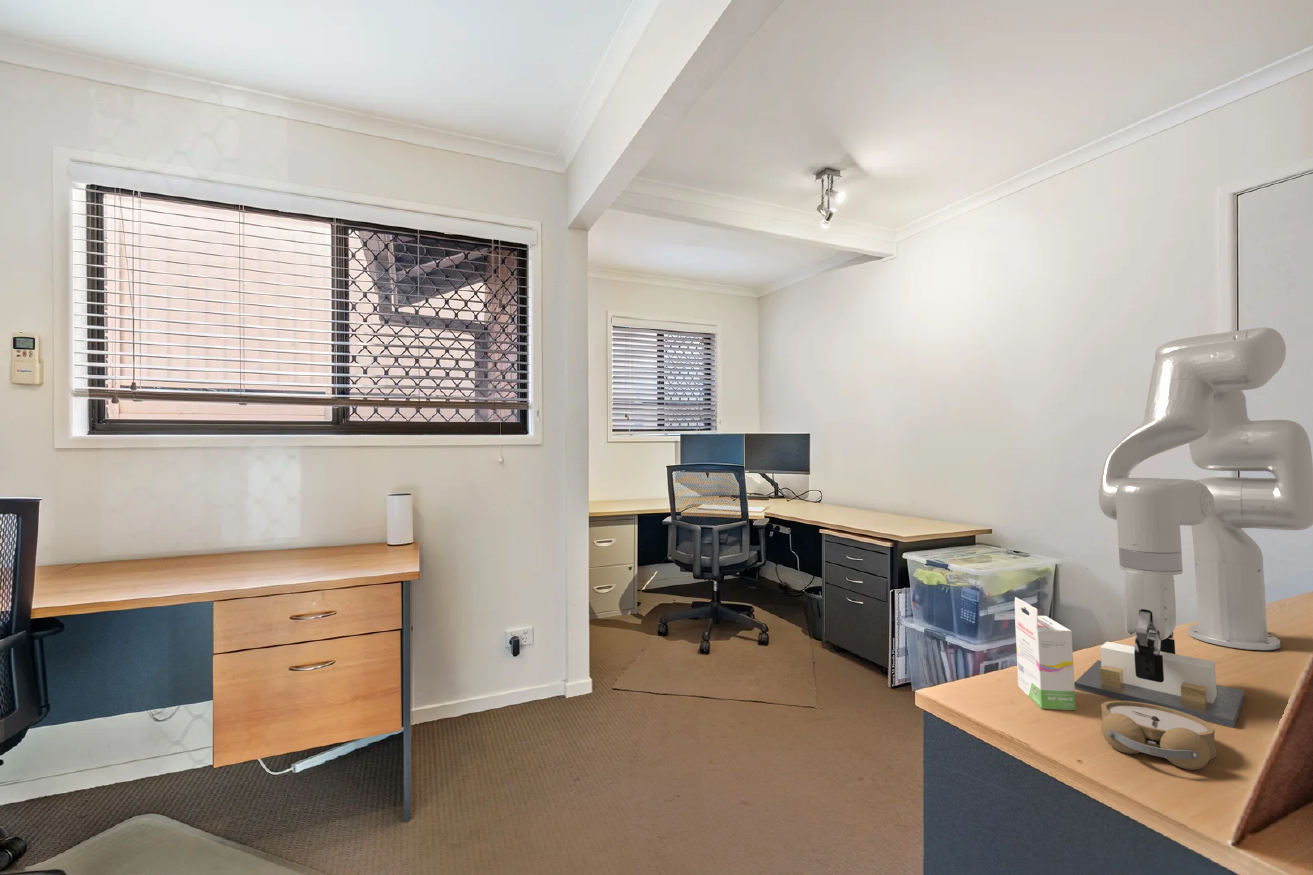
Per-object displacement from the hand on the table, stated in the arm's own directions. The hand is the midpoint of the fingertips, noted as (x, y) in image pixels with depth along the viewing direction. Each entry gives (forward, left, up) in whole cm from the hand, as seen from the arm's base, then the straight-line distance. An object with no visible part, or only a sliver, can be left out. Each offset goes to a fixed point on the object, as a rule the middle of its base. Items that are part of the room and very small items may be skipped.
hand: (1156, 670), depth 89 cm
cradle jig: (0, 0, -3) cm, 3 cm away
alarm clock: (+21, +3, -4) cm, 21 cm away
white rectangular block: (0, 0, -2) cm, 2 cm away
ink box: (+14, -11, -4) cm, 18 cm away
